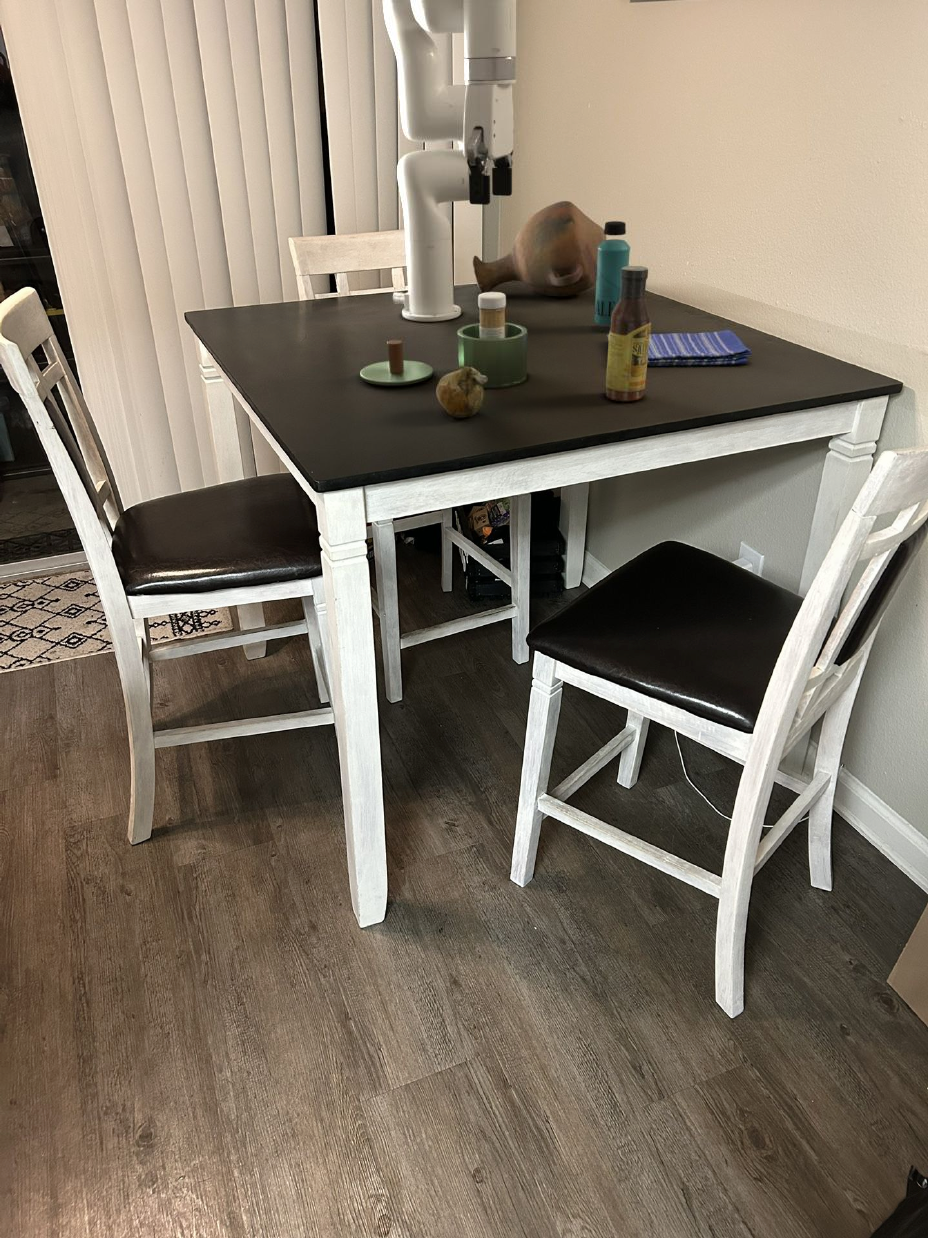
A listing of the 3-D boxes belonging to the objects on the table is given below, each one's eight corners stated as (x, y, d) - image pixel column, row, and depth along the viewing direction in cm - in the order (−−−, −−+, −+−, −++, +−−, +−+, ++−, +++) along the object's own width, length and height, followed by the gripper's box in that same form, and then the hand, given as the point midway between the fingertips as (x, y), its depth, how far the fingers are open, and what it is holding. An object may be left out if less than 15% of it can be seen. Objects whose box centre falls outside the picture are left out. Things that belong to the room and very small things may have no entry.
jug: (614, 288, 214) (489, 308, 221) (605, 197, 208) (477, 221, 215) (607, 289, 195) (472, 311, 203) (598, 189, 189) (458, 216, 197)
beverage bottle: (624, 324, 186) (632, 218, 176) (626, 333, 181) (633, 224, 170) (592, 324, 187) (597, 218, 176) (593, 333, 181) (598, 224, 171)
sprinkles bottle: (507, 371, 160) (507, 291, 153) (503, 379, 156) (503, 297, 149) (481, 370, 161) (480, 290, 154) (477, 378, 157) (475, 296, 150)
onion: (482, 404, 147) (481, 354, 143) (489, 421, 140) (488, 369, 136) (435, 407, 146) (432, 357, 142) (440, 424, 139) (437, 372, 135)
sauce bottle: (634, 405, 144) (645, 273, 134) (598, 399, 147) (605, 270, 137) (650, 394, 149) (661, 265, 139) (615, 388, 152) (623, 262, 141)
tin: (448, 384, 156) (447, 336, 152) (473, 365, 165) (473, 319, 161) (512, 391, 152) (513, 342, 148) (535, 371, 161) (536, 324, 157)
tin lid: (347, 384, 157) (344, 348, 154) (380, 364, 167) (378, 329, 164) (414, 392, 153) (412, 354, 150) (444, 370, 163) (443, 335, 159)
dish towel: (752, 366, 160) (754, 349, 159) (616, 367, 161) (617, 351, 160) (731, 339, 175) (733, 324, 174) (606, 341, 176) (607, 326, 175)
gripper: (487, 70, 142) (488, 191, 152) (443, 74, 129) (447, 206, 138) (533, 70, 140) (531, 192, 149) (493, 73, 126) (494, 208, 136)
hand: (491, 199), depth 144 cm, fingers open, 9 cm apart
